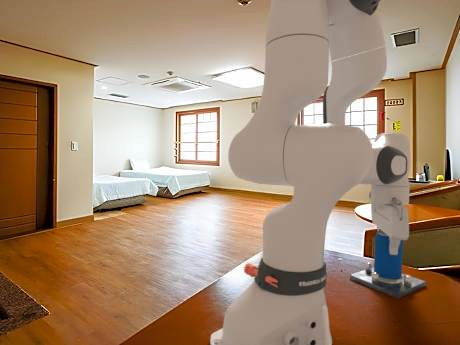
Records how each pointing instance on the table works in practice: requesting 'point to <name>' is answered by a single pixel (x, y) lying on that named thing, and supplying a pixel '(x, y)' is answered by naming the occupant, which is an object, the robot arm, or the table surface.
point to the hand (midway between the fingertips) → (387, 248)
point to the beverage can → (387, 258)
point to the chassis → (387, 282)
